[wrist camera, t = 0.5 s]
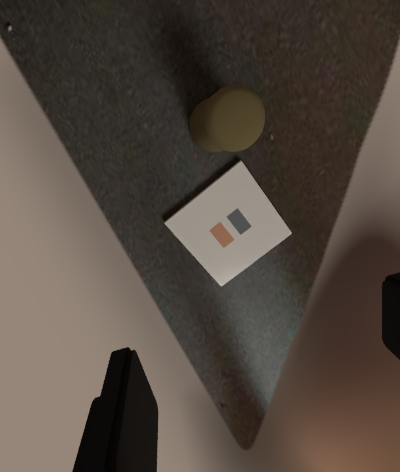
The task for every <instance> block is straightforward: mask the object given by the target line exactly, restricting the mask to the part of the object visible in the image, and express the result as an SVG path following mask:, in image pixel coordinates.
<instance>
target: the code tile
mask: <svg viewBox="0 0 400 472" xmlns="http://www.w3.org/2000/svg"><path fill="white" fill-rule="evenodd" d="M164 223H165V224H166V226H167V227H168V228H169V229H170V230H171V231H172V232H173V233H174V235H175V236H176V237H177V238H178V239H179V240H180V241H181V242H182V243H183V245H184V246H185V247H186V248H187V249H188V250H189V251H190V252H191V254H192V255H193V256H194V257H195V258H196V259H197V260H198V261H199V262H200V264H201V265H202V266H203V267H204V268H205V269H206V270H207V271H208V273H209V274H210V275H211V276H212V277H213V278H214V279H215V280H216V281H217V283H218V284H219V285H220V286H221V287H222V286H223V285H224V284H226V283H227V282H228V281H230V280H231V279H232V278H234V277H235V276H236V275H238V274H239V273H240V272H242V271H243V270H244V269H246V268H247V267H248V266H249V265H251V264H252V263H253V262H255V261H256V260H257V259H259V258H260V257H261V256H263V255H264V254H265V253H267V252H268V251H269V250H271V249H272V248H273V247H275V246H276V245H277V244H279V243H280V242H281V241H283V240H284V239H285V238H287V237H288V236H289V235H291V234H292V233H291V231H290V230H289V228H288V227H287V225H286V224H285V223H284V221H283V220H282V218H281V217H280V215H279V214H278V213H277V211H276V210H275V208H274V207H273V205H272V204H271V203H270V201H269V200H268V198H267V197H266V195H265V194H264V193H263V191H262V190H261V188H260V187H259V185H258V184H257V183H256V181H255V180H254V178H253V177H252V175H251V174H250V173H249V171H248V170H247V168H246V167H245V165H244V164H243V163H242V161H238V162H237V163H236V164H235V165H233V166H232V167H231V168H230V169H228V170H227V171H226V172H225V173H224V174H222V175H221V176H220V177H219V178H217V179H216V180H215V181H214V182H212V183H211V184H210V185H209V186H207V187H206V188H205V189H204V190H203V191H201V192H200V193H199V194H198V195H196V196H195V197H194V198H193V199H191V200H190V201H189V202H188V203H187V204H185V205H184V206H183V207H182V208H180V209H179V210H178V211H177V212H175V213H174V214H173V215H172V216H171V217H169V218H168V219H167V220H166V221H164Z"/></svg>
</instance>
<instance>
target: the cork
mask: <svg viewBox="0 0 400 472" xmlns="http://www.w3.org/2000/svg"><path fill="white" fill-rule="evenodd" d="M264 123H265V111H264V107H263V103H262V101H261V100H260V98H259V97H258V95H257V94H256V93H255V92H254V91H252V90H251V89H250V88H247V87H244V86H241V85H228V86H226V87H223V88H221V89H219V90H218V91H217V92H216V93H215V94H213V95H212V96H211V97H210V98H207V99H205V100H202V101H201V102H200V103H199V104H198V105H197V106H196V107H195V109H194V110H193V112H192V114H191V118H190V122H189V125H190V133H191V136H192V139H193V140H194V142H195V143H196V144H197V146H199V147H200V148H201V149H203V150H204V151H208V152H211V153H215V152H222V151H224V150H225V151H229V152H235V151H241V150H244V149H246V148H248V147H249V146H251V145H252V144H253V143H254V142H255V141H256V140H257V139H258V137H259V136H260V134H261V133H262V130H263V127H264Z"/></svg>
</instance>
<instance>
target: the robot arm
mask: <svg viewBox="0 0 400 472" xmlns="http://www.w3.org/2000/svg"><path fill="white" fill-rule="evenodd" d="M382 340H383V342H384V344H385V346H386V347H387V348H388V349H389V350H390V351H391V352H392V353H393V354H394V355H395V356H396V357H397V358H399V359H400V272H399V273H396V274H392V275H388V276H387V277H386V278H385V281H383V283H382ZM157 440H158V406H157V402H156V399H155V397H154V395H153V392H152V390H151V387H150V385H149V382H148V380H147V377H146V375H145V372H144V370H143V367H142V365H141V363H140V360H139V357H138V355H137V353H136V351H135V350H132V351H131V350H130V348H129V347H127V348H123V349H120V350H116V351H113V352H112V353H111V357H110V360H109V364H108V368H107V372H106V376H105V380H104V384H103V388H102V392H101V395H100V397H97V398H95V399H94V400H93V402H92V404H91V408H90V412H89V415H88V418H87V422H86V425H85V429H84V432H83V436H82V439H81V443H80V446H79V450H78V453H77V457H76V461H75V464H74V468H73V471H72V472H157Z"/></svg>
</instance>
